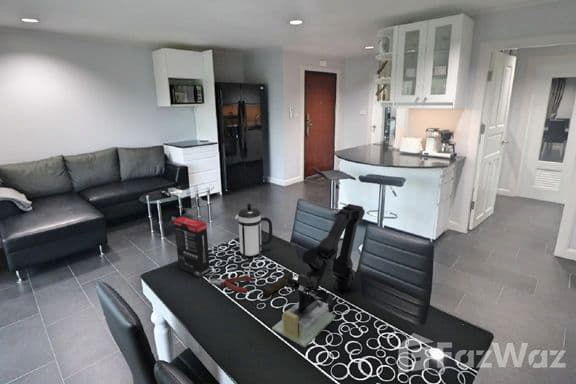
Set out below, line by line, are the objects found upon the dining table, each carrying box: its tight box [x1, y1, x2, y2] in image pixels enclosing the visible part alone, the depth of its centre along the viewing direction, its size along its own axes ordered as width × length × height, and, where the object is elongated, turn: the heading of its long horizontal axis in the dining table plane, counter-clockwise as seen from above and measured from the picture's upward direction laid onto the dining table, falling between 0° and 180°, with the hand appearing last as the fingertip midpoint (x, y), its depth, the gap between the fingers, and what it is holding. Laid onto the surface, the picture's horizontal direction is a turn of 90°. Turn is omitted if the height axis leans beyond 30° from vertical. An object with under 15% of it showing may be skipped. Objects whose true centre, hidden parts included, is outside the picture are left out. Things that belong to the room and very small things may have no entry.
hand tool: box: [262, 271, 294, 298], centre depth 145 cm, size 19×4×5 cm, turn 138°
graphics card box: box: [173, 216, 211, 278], centre depth 157 cm, size 17×7×27 cm, turn 58°
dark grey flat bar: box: [293, 301, 319, 321], centre depth 120 cm, size 14×4×1 cm, turn 142°
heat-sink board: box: [271, 299, 336, 349], centre depth 120 cm, size 21×15×9 cm
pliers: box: [208, 275, 254, 294], centre depth 148 cm, size 12×20×3 cm, turn 79°
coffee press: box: [234, 202, 273, 260], centre depth 175 cm, size 17×16×30 cm
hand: (299, 312), depth 117 cm, fingers closed, pressing on dark grey flat bar
